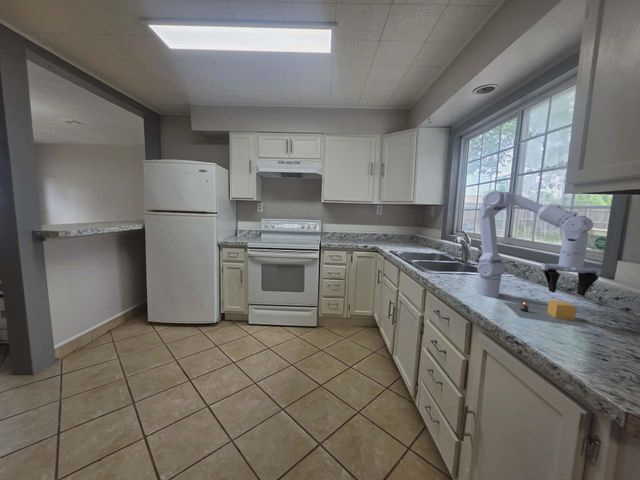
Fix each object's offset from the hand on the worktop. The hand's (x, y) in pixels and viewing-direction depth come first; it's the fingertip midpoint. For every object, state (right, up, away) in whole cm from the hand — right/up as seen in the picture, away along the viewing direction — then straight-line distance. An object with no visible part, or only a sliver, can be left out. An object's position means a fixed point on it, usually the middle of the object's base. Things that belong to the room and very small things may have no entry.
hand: (566, 293), depth 81 cm
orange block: (0, -8, +2) cm, 8 cm away
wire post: (-10, -7, +5) cm, 13 cm away
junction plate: (-5, -9, +3) cm, 11 cm away
